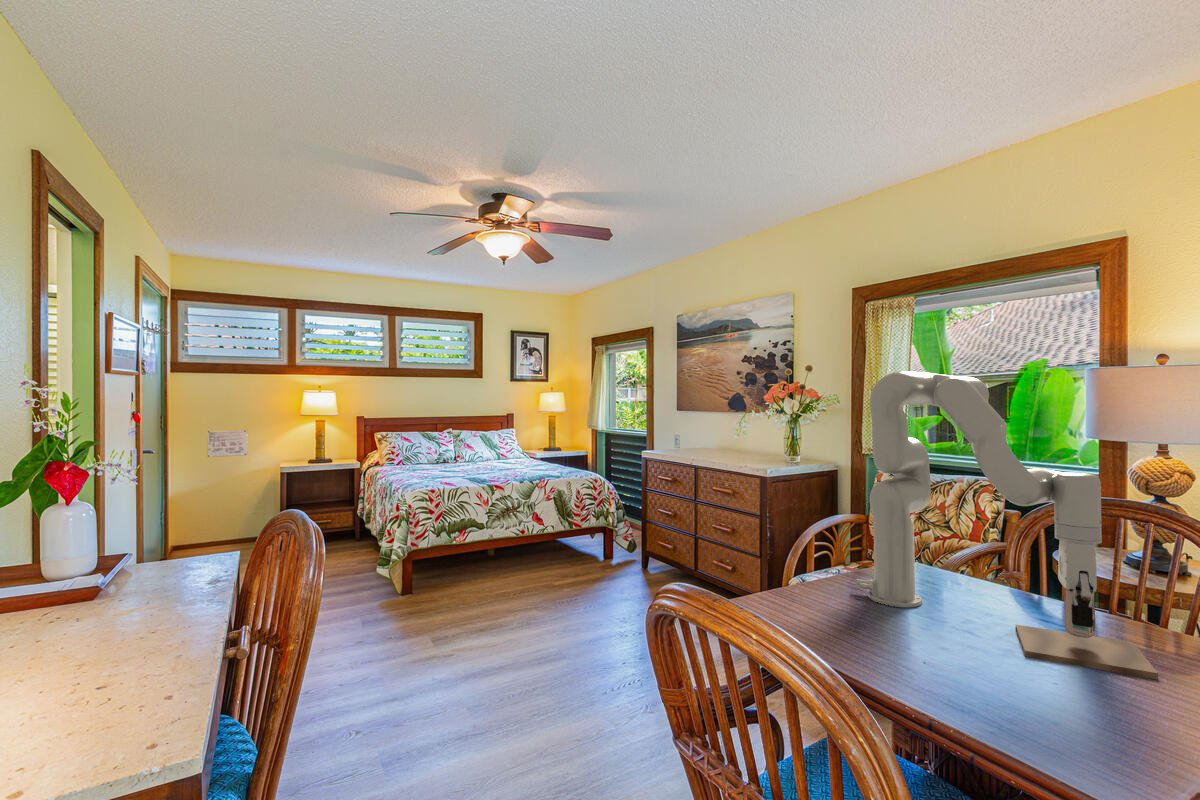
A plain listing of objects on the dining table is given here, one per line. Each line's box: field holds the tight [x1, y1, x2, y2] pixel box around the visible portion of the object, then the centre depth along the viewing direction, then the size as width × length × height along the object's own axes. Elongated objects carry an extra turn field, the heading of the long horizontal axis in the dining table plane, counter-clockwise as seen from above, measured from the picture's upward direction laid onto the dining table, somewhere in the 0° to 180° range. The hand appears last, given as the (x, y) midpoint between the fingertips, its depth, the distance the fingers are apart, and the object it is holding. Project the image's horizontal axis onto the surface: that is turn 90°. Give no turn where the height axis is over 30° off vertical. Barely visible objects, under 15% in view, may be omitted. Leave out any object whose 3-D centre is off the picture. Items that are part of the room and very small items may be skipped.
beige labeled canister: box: [1063, 585, 1096, 638], centre depth 119 cm, size 5×5×12 cm
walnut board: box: [1015, 624, 1159, 680], centre depth 119 cm, size 20×16×1 cm
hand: (1079, 620), depth 119 cm, fingers closed on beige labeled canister, 4 cm apart
